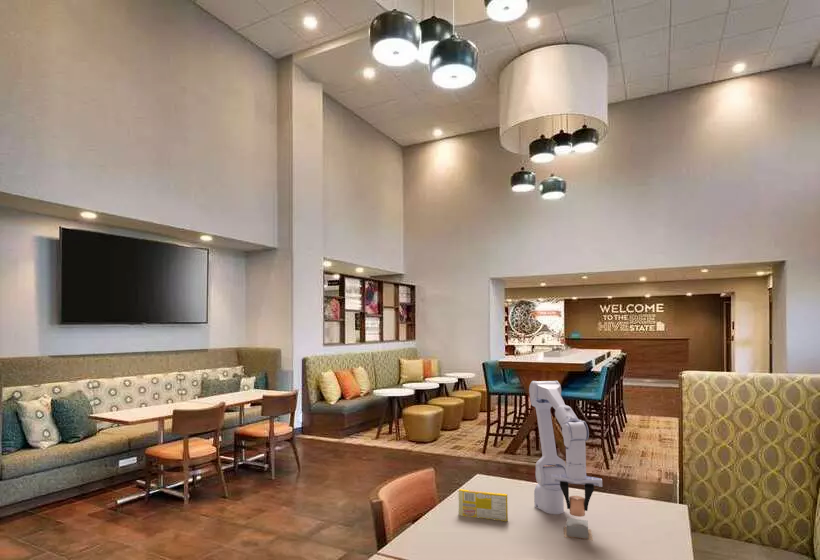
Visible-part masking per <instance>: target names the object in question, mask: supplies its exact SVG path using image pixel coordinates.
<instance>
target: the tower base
mask: <svg viewBox="0 0 820 560" xmlns="http://www.w3.org/2000/svg"><path fill="white" fill-rule="evenodd" d="M563 536H564V537H563V538H566V539H567V538H568V539H577V540H584V541H585V540H586V541H594V539H593V533H592V529H589V528H588V539H585V538H578V537H570V536H567V526H563Z"/></svg>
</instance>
